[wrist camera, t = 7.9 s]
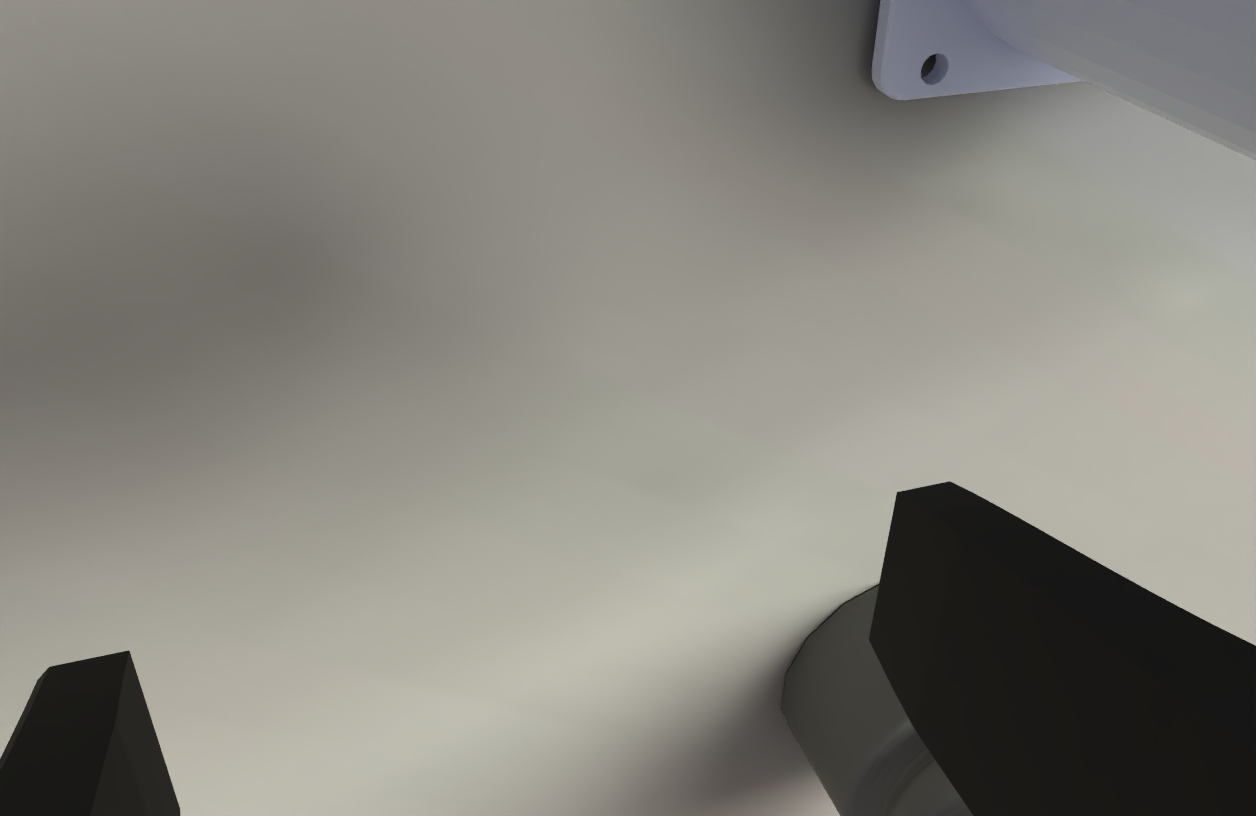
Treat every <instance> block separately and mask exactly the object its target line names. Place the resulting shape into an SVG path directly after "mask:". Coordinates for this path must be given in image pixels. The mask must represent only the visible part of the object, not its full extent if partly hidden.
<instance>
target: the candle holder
mask: <svg viewBox="0 0 1256 816" xmlns="http://www.w3.org/2000/svg"><path fill="white" fill-rule="evenodd" d="M878 588H879V585H878V586H876V587H874V588H873V589H871V590H869V591H867V592H865V593H863V594H862V595H860V596H858V597H856V598H854V599H852V600H851V601H849V602H847V603H845V604H844V605H843V606H841V607H840V608H839V609H838V610H837V611H836V612H835V613H834V614H833V615H832V616H831V617H830V618H829V619H827V620H826V621H825V622H824V623H823V624H822V625H821V626H820V627H819V628H818V629H817V630H816V631H815V632H813V633H812V634H811V635H810V636H809V637H808V638H807V640H806V642H805V643H804V645H803V647H802V648H801V650H800V652H799V653H798V655H797V657H796V658H795V660H794V662H793V664H792V665H791V667H790V669H789V670H788V672H787V674H786V677H785V684H784V692H783V699H782V707H781V709H782V711H783V713H784V715H785V717H786V719H787V721H788V724H789V726H790V728H791V730H792V732H793V734H794V736H795V737H796V739H797V741H798V743H799V744H800V746H801V748H802V750H803V751H804V753H805V755H806V757H807V758H808V760H809V762H810V764H811V765H812V767H813V769H814V770H815V772H816V774H817V776H818V777H819V779H820V781H821V783H822V784H823V786H824V788H825V790H826V791H827V793H828V795H829V797H830V798H831V800H832V802H833V804H834V805H835V807H836V809H837V811H838V812H839V814H840V816H973V814H972V813H971V811H970V810H969V809H968V807H967V806H966V804H965V803H964V801H963V800H962V799H961V797H960V796H959V794H958V793H957V791H956V790H955V788H954V787H953V785H952V784H951V782H950V781H949V779H948V778H947V777H946V775H945V774H944V772H943V771H942V769H941V768H940V766H939V765H938V763H937V762H936V760H935V759H934V757H933V756H932V755H931V753H930V752H929V750H928V749H927V747H926V746H925V744H924V743H923V741H922V740H921V738H920V737H919V735H918V733H917V732H916V730H915V729H914V727H913V726H912V724H911V722H910V720H909V718H908V716H907V714H906V713H905V711H904V709H903V707H902V705H901V703H900V701H899V699H898V698H897V696H896V694H895V692H894V690H893V688H892V686H891V684H890V682H889V680H888V678H887V676H886V674H885V672H884V670H883V668H882V666H881V664H880V662H879V660H878V658H877V656H876V654H875V652H874V649H873V647H872V645H871V643H870V641H869V635H870V630H871V625H872V619H873V614H874V609H875V604H876V599H877V594H878Z"/></svg>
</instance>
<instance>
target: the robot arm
mask: <svg viewBox="0 0 1256 816" xmlns="http://www.w3.org/2000/svg"><path fill="white" fill-rule="evenodd" d="M934 54H935V55H936V62H935V65H934V68H933V70H932V71H931V72H930V73H929V74H928V75H927V76H924V77H922V78H921V68H922V66H923V63H924V62H925V61H926V60H927V59H928V57H929V56H931V55H934ZM872 80H873V82H874V84H875V86H876V88H877V89H878V90H879V91H881V92H882V93H884V94H885V95H887V96H888V97H890V98H892V99H894V100H912V99H921V98H930V97H940V96H949V95H958V94H968V93H977V92H986V91H996V90H1005V89H1014V88H1024V87H1033V86H1042V85H1052V84H1061V83H1070V82H1080V81H1085V82H1087V83H1089V84H1092V85H1094V86H1096V87H1098V88H1100V89H1102V90H1105V91H1107V92H1109V93H1111V94H1113V95H1115V96H1118V97H1120V98H1122V99H1124V100H1126V101H1128V102H1131V103H1133V104H1135V105H1137V106H1139V107H1141V108H1144V109H1146V110H1148V111H1150V112H1152V113H1154V114H1157V115H1159V116H1161V117H1163V118H1165V119H1167V120H1170V121H1172V122H1174V123H1176V124H1178V125H1180V126H1183V127H1185V128H1187V129H1189V130H1191V131H1193V132H1196V133H1198V134H1200V135H1202V136H1204V137H1206V138H1209V139H1211V140H1213V141H1215V142H1217V143H1219V144H1222V145H1224V146H1226V147H1228V148H1230V149H1232V150H1235V151H1237V152H1239V153H1241V154H1243V155H1245V156H1248V157H1250V158H1252V159H1254V160H1256V0H881V1H880V9H879V17H878V24H877V32H876V39H875V47H874V55H873V62H872ZM869 641H870V643H871V645H872V647H873V649H874V652H875V654H876V656H877V658H878V660H879V662H880V664H881V666H882V668H883V670H884V672H885V674H886V676H887V678H888V680H889V682H890V684H891V686H892V688H893V690H894V692H895V694H896V696H897V698H898V699H899V701H900V703H901V705H902V707H903V709H904V711H905V713H906V714H907V716H908V718H909V720H910V722H911V724H912V726H913V727H914V729H915V730H916V732H917V733H918V735H919V737H920V738H921V740H922V741H923V743H924V744H925V746H926V747H927V749H928V750H929V752H930V753H931V755H932V756H933V757H934V759H935V760H936V762H937V763H938V765H939V766H940V768H941V769H942V771H943V772H944V774H945V775H946V777H947V778H948V779H949V781H950V782H951V784H952V785H953V787H954V788H955V790H956V791H957V793H958V794H959V796H960V797H961V799H962V800H963V801H964V803H965V804H966V806H967V807H968V809H969V810H970V811H971V813H972V814H973V816H1256V646H1255V645H1253V644H1251V643H1249V642H1247V641H1245V640H1243V639H1241V638H1239V637H1237V636H1235V635H1233V634H1231V633H1229V632H1227V631H1225V630H1223V629H1221V628H1219V627H1217V626H1215V625H1213V624H1211V623H1209V622H1207V621H1205V620H1203V619H1201V618H1199V617H1197V616H1195V615H1193V614H1192V613H1190V612H1188V611H1186V610H1184V609H1182V608H1180V607H1178V606H1176V605H1174V604H1172V603H1171V602H1169V601H1167V600H1165V599H1163V598H1161V597H1159V596H1158V595H1156V594H1154V593H1152V592H1150V591H1148V590H1147V589H1145V588H1143V587H1141V586H1139V585H1137V584H1136V583H1134V582H1132V581H1130V580H1128V579H1127V578H1125V577H1123V576H1121V575H1119V574H1117V573H1116V572H1114V571H1112V570H1110V569H1108V568H1107V567H1105V566H1103V565H1101V564H1100V563H1098V562H1096V561H1094V560H1092V559H1091V558H1089V557H1087V556H1085V555H1084V554H1082V553H1080V552H1078V551H1076V550H1075V549H1073V548H1071V547H1069V546H1068V545H1066V544H1064V543H1062V542H1061V541H1059V540H1057V539H1055V538H1054V537H1052V536H1050V535H1048V534H1046V533H1045V532H1043V531H1041V530H1039V529H1038V528H1036V527H1034V526H1032V525H1031V524H1029V523H1027V522H1025V521H1023V520H1022V519H1020V518H1018V517H1016V516H1014V515H1013V514H1011V513H1009V512H1007V511H1005V510H1004V509H1002V508H1000V507H998V506H996V505H995V504H993V503H991V502H989V501H987V500H985V499H983V498H982V497H980V496H978V495H976V494H974V493H972V492H970V491H968V490H966V489H964V488H962V487H960V486H958V485H956V484H954V483H952V482H945V483H940V484H935V485H930V486H925V487H921V488H916V489H911V490H906V491H901V492H897V495H896V500H895V506H894V511H893V516H892V521H891V526H890V531H889V537H888V542H887V547H886V552H885V557H884V563H883V568H882V573H881V578H880V583H879V588H878V594H877V599H876V604H875V609H874V614H873V619H872V625H871V630H870V635H869ZM0 816H180V807H179V804H178V801H177V798H176V795H175V792H174V789H173V786H172V782H171V779H170V776H169V773H168V770H167V767H166V764H165V761H164V757H163V754H162V751H161V748H160V745H159V742H158V739H157V736H156V733H155V729H154V726H153V723H152V720H151V717H150V714H149V711H148V708H147V704H146V701H145V698H144V695H143V692H142V689H141V686H140V683H139V679H138V676H137V673H136V670H135V667H134V664H133V661H132V658H131V654H130V651H124V652H119V653H114V654H110V655H105V656H100V657H95V658H90V659H85V660H81V661H76V662H71V663H66V664H61V665H56V666H51V667H49V668H48V669H47V670H46V671H45V672H44V673H43V675H42V676H41V677H40V678H39V679H38V680H37V683H36V685H35V687H34V689H33V691H32V694H31V696H30V698H29V700H28V702H27V705H26V707H25V709H24V711H23V713H22V715H21V717H20V719H19V721H18V724H17V726H16V728H15V730H14V732H13V734H12V736H11V738H10V740H9V742H8V744H7V746H6V748H5V750H4V752H3V754H2V756H1V758H0Z"/></svg>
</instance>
